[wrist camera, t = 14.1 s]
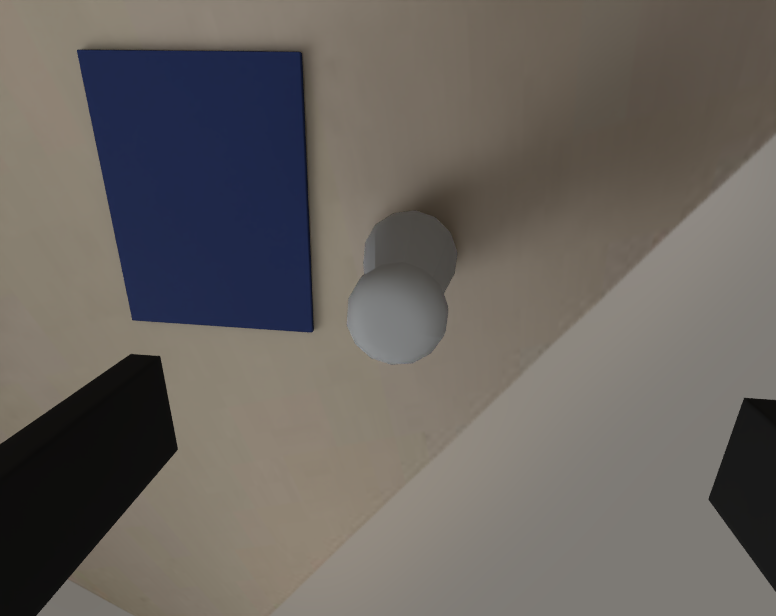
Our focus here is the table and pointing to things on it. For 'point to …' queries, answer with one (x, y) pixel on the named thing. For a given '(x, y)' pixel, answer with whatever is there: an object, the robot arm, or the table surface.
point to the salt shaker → (403, 288)
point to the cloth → (206, 183)
